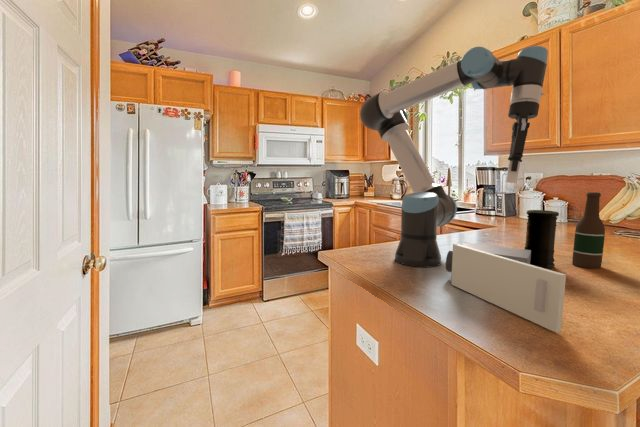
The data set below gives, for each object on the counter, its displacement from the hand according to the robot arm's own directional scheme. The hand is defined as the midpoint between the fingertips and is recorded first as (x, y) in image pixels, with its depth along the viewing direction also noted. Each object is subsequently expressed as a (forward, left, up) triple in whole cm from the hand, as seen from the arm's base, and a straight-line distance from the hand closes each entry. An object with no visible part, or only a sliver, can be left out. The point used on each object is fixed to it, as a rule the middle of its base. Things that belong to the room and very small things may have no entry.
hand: (511, 182), depth 94 cm
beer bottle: (+24, +17, -27) cm, 40 cm away
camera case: (-6, -19, -27) cm, 34 cm away
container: (+10, +10, -27) cm, 31 cm away
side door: (-4, -33, -27) cm, 43 cm away
